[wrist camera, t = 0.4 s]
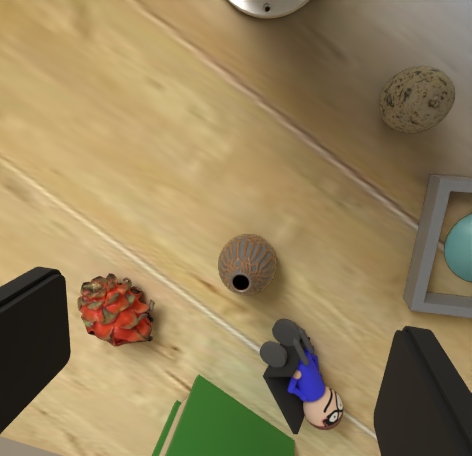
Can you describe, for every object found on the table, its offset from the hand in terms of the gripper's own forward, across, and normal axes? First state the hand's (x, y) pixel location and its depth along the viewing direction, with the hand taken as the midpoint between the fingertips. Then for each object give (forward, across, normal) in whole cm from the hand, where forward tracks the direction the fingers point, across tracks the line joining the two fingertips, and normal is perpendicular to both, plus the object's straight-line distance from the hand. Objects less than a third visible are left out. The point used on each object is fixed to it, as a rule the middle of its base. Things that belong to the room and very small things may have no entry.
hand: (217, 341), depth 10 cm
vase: (+34, +2, +11) cm, 36 cm away
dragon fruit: (+34, +19, +20) cm, 44 cm away
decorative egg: (+34, -12, -9) cm, 37 cm away
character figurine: (+34, -6, +25) cm, 43 cm away
